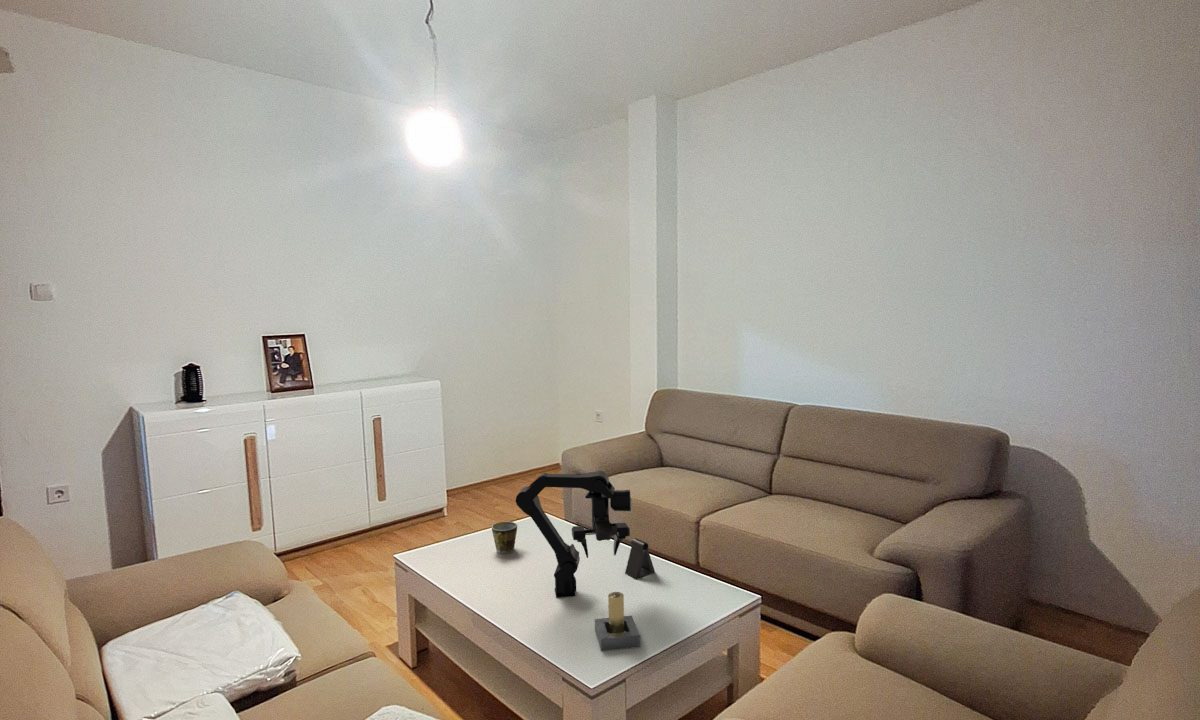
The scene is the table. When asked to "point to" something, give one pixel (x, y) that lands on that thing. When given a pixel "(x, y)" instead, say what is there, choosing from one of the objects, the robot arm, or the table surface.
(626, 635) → the jig block
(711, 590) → the table surface
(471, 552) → the table surface
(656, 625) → the table surface
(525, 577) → the table surface
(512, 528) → the ceramic cup
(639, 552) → the phone stand
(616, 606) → the brass sleeve
